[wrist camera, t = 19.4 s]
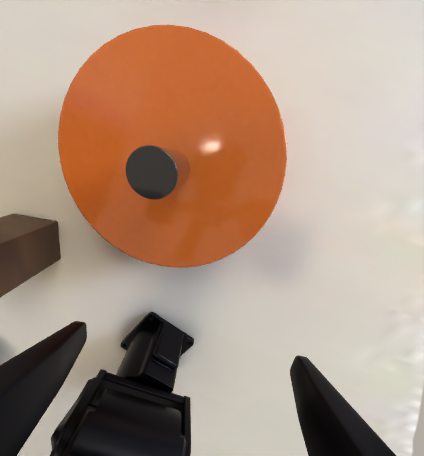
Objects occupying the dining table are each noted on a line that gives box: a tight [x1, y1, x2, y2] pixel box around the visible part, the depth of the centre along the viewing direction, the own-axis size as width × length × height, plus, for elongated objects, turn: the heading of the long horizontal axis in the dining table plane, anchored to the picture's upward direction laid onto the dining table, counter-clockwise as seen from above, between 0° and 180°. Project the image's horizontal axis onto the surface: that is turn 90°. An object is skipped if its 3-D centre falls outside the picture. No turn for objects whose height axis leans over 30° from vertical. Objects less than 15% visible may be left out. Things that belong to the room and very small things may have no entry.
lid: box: [58, 25, 287, 267], centre depth 12 cm, size 15×15×6 cm
